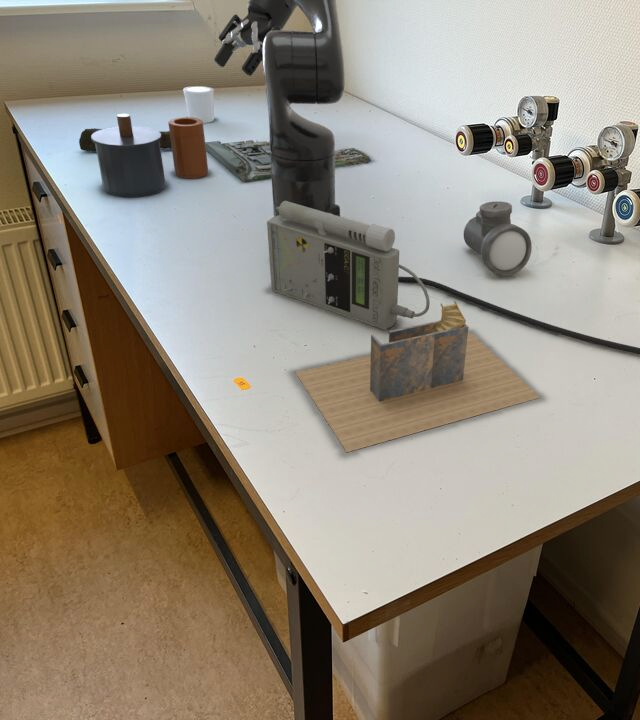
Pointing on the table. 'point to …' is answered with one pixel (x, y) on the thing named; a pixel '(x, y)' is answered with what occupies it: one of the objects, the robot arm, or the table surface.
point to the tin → (131, 170)
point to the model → (264, 158)
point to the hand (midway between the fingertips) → (231, 68)
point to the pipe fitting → (498, 239)
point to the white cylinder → (200, 102)
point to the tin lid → (126, 135)
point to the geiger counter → (337, 264)
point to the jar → (188, 147)
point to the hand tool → (85, 136)
